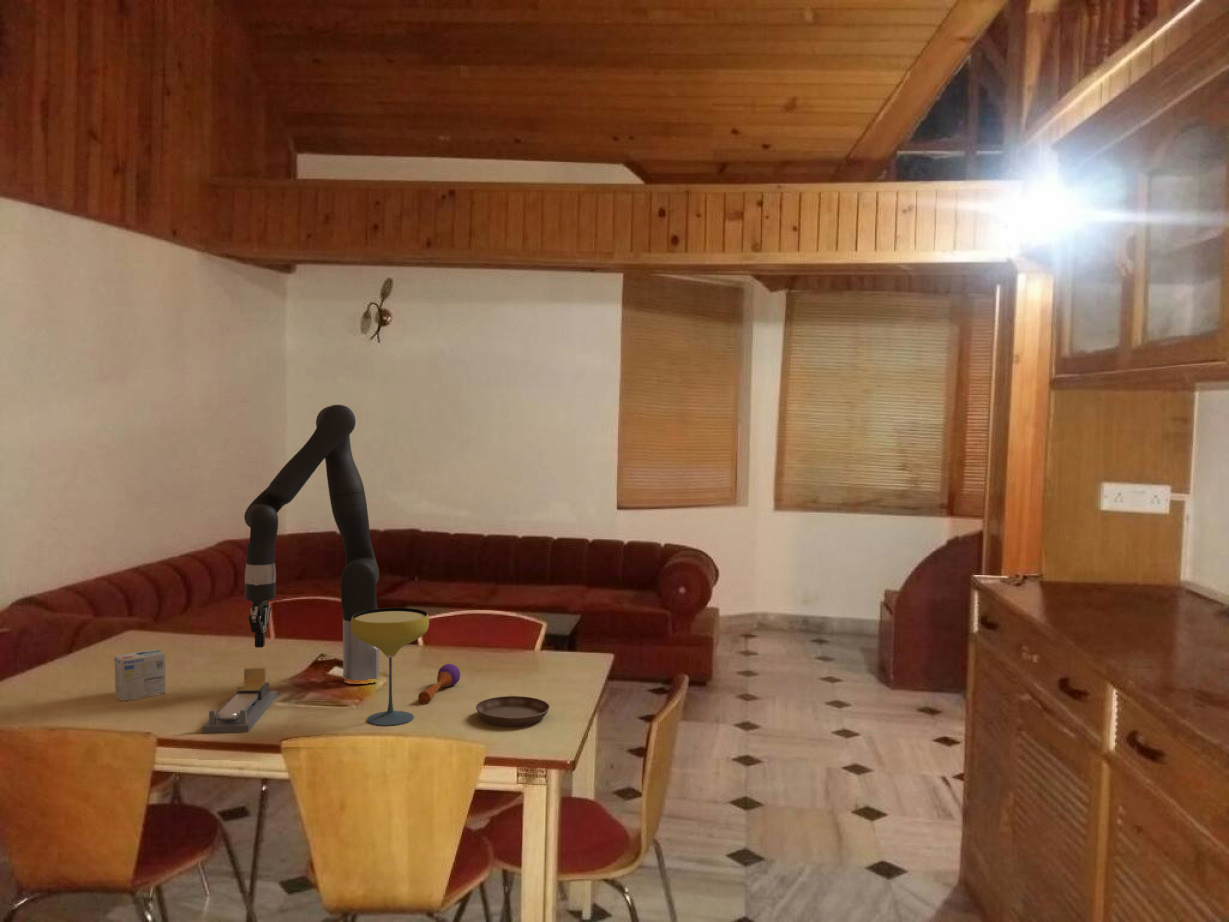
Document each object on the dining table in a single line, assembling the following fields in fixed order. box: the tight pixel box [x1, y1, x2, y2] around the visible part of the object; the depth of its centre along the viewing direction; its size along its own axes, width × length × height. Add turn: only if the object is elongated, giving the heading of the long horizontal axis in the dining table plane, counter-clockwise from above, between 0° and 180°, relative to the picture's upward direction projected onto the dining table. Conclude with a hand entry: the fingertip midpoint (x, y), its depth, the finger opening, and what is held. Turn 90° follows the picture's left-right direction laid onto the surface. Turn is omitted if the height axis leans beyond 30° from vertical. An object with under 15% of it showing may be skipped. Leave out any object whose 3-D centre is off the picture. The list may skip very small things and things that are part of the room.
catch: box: [237, 666, 267, 691], centre depth 244 cm, size 7×5×4 cm
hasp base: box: [202, 681, 278, 734], centre depth 234 cm, size 28×10×4 cm, turn 6°
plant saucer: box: [475, 695, 550, 727], centre depth 234 cm, size 18×18×3 cm
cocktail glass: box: [351, 607, 430, 727], centre depth 231 cm, size 18×18×25 cm
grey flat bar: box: [217, 694, 258, 721], centre depth 230 cm, size 18×5×2 cm, turn 6°
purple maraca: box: [417, 663, 461, 705], centre depth 254 cm, size 6×6×20 cm
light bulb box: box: [114, 648, 167, 701], centre depth 249 cm, size 11×7×11 cm, turn 135°
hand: (259, 646), depth 252 cm, fingers closed
